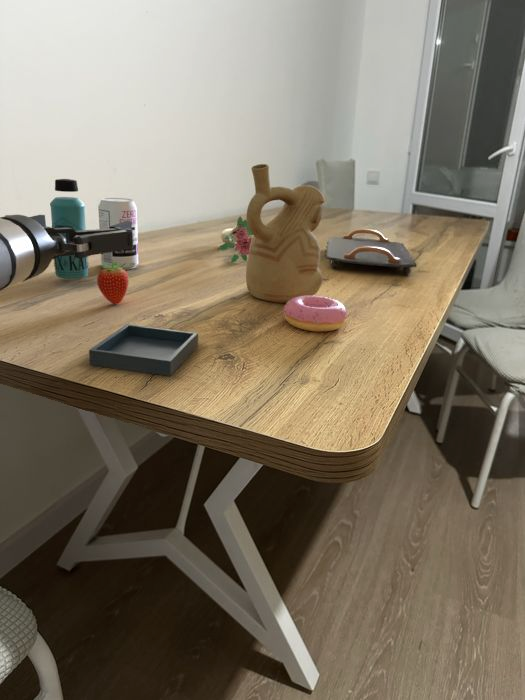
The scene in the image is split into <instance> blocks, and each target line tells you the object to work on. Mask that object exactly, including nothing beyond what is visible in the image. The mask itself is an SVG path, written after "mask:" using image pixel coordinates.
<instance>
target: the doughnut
mask: <svg viewBox="0 0 525 700" xmlns="http://www.w3.org/2000/svg"><path fill="white" fill-rule="evenodd" d="M282 311H283V314H284V318H285V320H286V321H287V323H288V324H290V325H291V326H293V327H295V328H297V329H300V330H304V331H309V332H331V331H335V330H337V329H339V328H341V327H342V326H343V325H345V323H346V321H347V318H348V312H347V308H346V307H345V305H344V304H343V303H341V302H340V301H338V300H336V299H334V298H330V297H329V296H328V297H326V296H320V295H313V296H300V297H299V296H298V297H295V298H293V299H291V300H288V301H287V303H285V305H284V306H283V310H282Z"/></svg>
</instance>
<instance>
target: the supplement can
mask: <svg viewBox="0 0 525 700" xmlns="http://www.w3.org/2000/svg"><path fill="white" fill-rule="evenodd" d="M97 207H98V208H97V209H98V227H99V229H110V226H113V225H116V224H119V223H122V222H125V221H131V224H132V230H133V249H127V250H123V252H121V253H120V252H117V251H114V252H108V253H102V254H100V263H101V265H102V264H105V265H107V266H111V267H112V260H113V264H115V263H116V264H117V266H121V265H123V264H125V263H126V262H127V263H126V264H125V265H124V266H122V267H120V268H122V269H123V268H124V267H125V268H124V270H125V271H126V270H133V269H135V268H136V267H137V266H138V264H139V241H138V239H139V238H138V237H139V236H138V207H137V205H136V203H135V200H134V199H131V198H126V197H125V198H123V197H103V198H100V202H99V204H98V206H97ZM103 267H105V266H103Z"/></svg>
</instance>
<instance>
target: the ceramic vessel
mask: <svg viewBox="0 0 525 700" xmlns="http://www.w3.org/2000/svg"><path fill="white" fill-rule="evenodd" d="M251 173H252V177H253V183H254V190H255V194H254V195H253V196H252V198H251V199H250V201H249V203H248V206H247V208H246V220H247V224H248V227H249V230H250V232H251V233H252V234H253V235H252V241H251V244H250V248H249V254H248V255H247V261H246V267H245V268H246V269H245V283H246V288H247V291H248V292H249V294H250V295H251V296H253V297H255V298H257V299H259V300H263V301H267V302H272V303H281V304H282V303H283V304H284V303H285V304H286V303H287V301H288V300H291V299H293V298H295V297H298V296H299V297H300V296H315V295H316V294H317V293H318V292H319V290H320V289H321V286H322V284H323V281H324V280H323V279H324V278H323V274H322V271H321V269H320V268H319V265H320V260H321V246H320V243H319V240H318V239H317V237H316V236H315V235H314V233H313V232H314V231H315V230H316V229H317V228H318V227H319V225H320V223H321V220H322V216H323V215H322V211H323V204H324V203H325V202H326V199H325V195H324V193H322V191H320V189H318V188H317V187H315V186H312V185H310V184H303V185H298V186H296V187H295V188H293V189H292V188H290V187H286V186H272V187H271V182H270V166H269V165H268V164H266V163H260V164H255V165H252V167H251ZM273 201H281V202H283V203H284V204H283V206H282V207H281V210H280V211H279V212H278V213H277V215H276V216H274V217H273V219H271V220H270V221H269V222H268V223H265V224H264V223H263V221H262V218H261V215H262V210H263V208H264V206H266V205H267V204H268V203H270V202H273Z"/></svg>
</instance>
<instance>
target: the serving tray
mask: <svg viewBox="0 0 525 700" xmlns="http://www.w3.org/2000/svg"><path fill="white" fill-rule="evenodd" d="M356 234H368V235H374V236H377V237H378V238H379V239H374V238H373V239H372V238H365V237H364V238H363V237H353V236H354V235H356ZM326 244H327V245H326V249H325V253H326V254H325V259H326V260H329V261H331V262H330V263H329V265H330V268H331V269H333V270H336V269H338V267H339V266H340V265H339V264H340V263H349V264H355V265H365V266H375V267H388V268H394V267H395V268H402V269H401V273H402V275H403V276H409V275H410V274H411V272H412V269H411V268H417V263H416V261H415V260H414V257H412V255H411V253H410V252H409V251H408V249H407V247H406V246H405V245H404V243H402V242H398V241H390V239H389V238H385V237H384V235H383V234H382V233H381V232H380V231H378V230H374V229H369V228H368V229H367V228H358V229H354V230H352V231H351V232H349V233H348V234H343V236H330V237H328V239H327V242H326Z"/></svg>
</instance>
